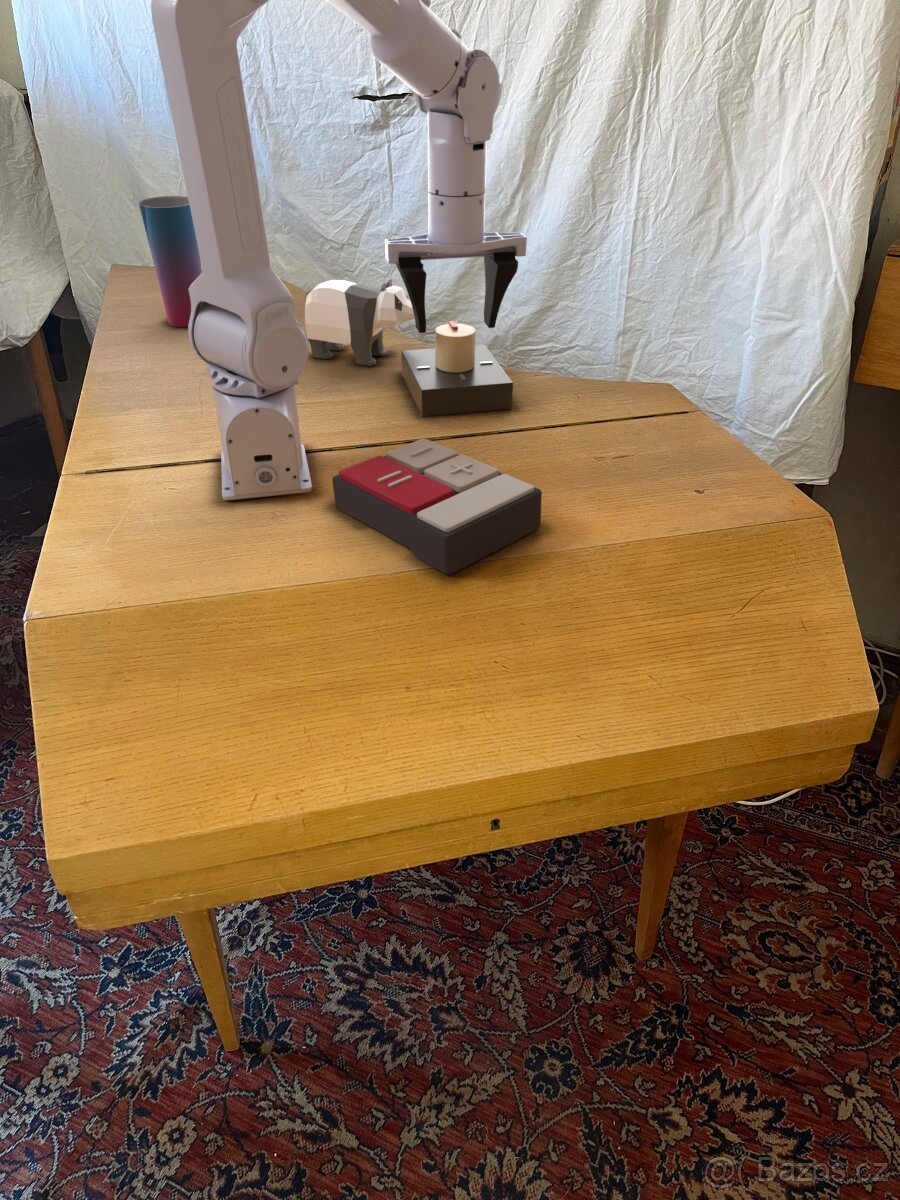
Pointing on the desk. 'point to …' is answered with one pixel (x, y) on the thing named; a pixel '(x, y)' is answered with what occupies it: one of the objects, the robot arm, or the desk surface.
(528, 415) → the desk surface
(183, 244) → the cup
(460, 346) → the dial
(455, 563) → the calculator
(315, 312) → the giant panda
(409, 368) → the panel
